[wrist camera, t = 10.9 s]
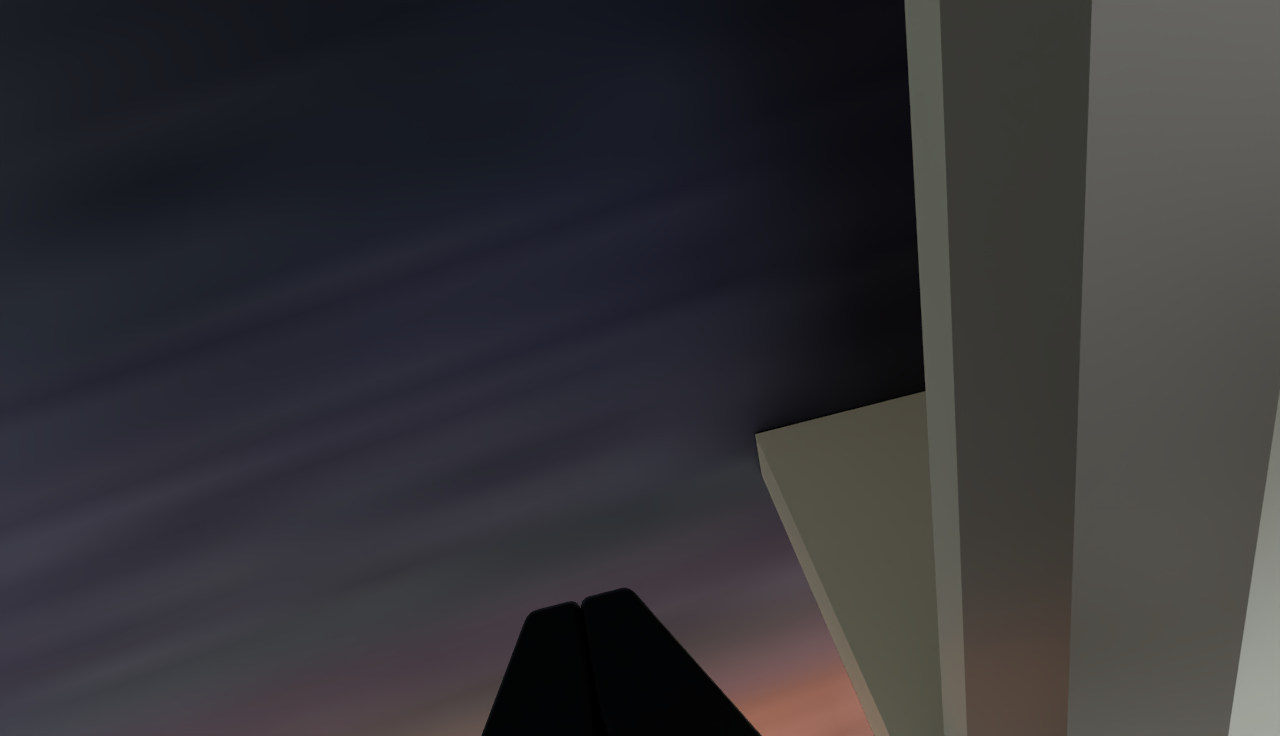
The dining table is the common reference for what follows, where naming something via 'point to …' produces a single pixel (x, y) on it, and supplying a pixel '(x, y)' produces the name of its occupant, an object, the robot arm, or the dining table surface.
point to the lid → (1101, 361)
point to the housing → (867, 550)
